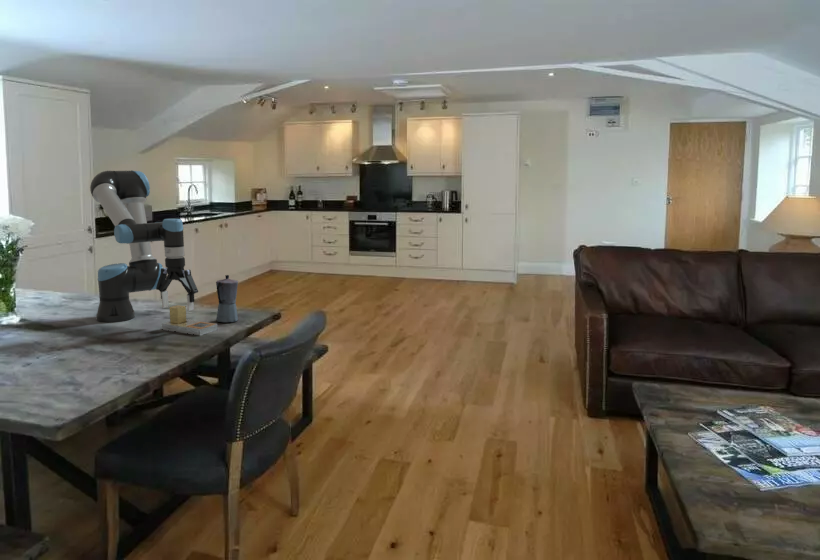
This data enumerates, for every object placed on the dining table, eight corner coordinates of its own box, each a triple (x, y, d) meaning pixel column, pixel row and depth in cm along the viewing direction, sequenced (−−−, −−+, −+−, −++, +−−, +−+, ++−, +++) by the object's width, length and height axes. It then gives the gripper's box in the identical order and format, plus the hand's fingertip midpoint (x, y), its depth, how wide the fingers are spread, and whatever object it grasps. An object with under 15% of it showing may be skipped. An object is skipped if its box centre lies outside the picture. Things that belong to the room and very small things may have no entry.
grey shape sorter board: (162, 329, 254) (161, 323, 254) (180, 324, 263) (180, 317, 263) (200, 335, 246) (199, 328, 245) (217, 329, 255) (217, 323, 254)
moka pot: (244, 317, 276) (243, 272, 272) (231, 326, 261) (229, 279, 257) (223, 316, 277) (221, 272, 273) (209, 325, 262) (207, 278, 258)
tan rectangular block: (170, 328, 256) (169, 307, 254) (178, 326, 260) (177, 305, 258) (178, 329, 254) (177, 308, 252) (186, 327, 258) (185, 306, 256)
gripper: (144, 256, 253) (148, 307, 257) (191, 260, 243) (194, 313, 247) (159, 254, 260) (162, 304, 264) (205, 257, 250) (208, 309, 253)
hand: (178, 308), depth 255 cm, fingers open, 13 cm apart
